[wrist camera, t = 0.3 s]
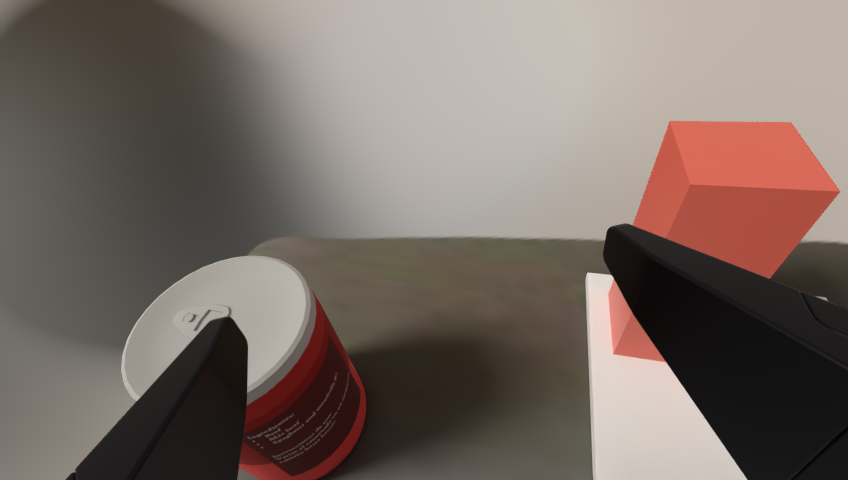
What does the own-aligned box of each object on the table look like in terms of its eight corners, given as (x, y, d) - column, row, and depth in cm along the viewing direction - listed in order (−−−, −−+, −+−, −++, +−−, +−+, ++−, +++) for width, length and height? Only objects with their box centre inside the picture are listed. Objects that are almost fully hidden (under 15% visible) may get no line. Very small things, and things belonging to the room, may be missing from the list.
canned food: (260, 365, 27) (167, 261, 19) (374, 355, 27) (324, 245, 19) (224, 494, 22) (74, 424, 14) (365, 486, 21) (291, 407, 13)
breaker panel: (1038, 739, 13) (1078, 748, 13) (598, 606, 17) (604, 605, 16) (818, 304, 25) (830, 292, 24) (585, 279, 29) (588, 268, 28)
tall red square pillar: (697, 367, 23) (840, 191, 13) (613, 354, 24) (690, 184, 15) (682, 302, 26) (791, 122, 16) (608, 294, 27) (669, 121, 17)
